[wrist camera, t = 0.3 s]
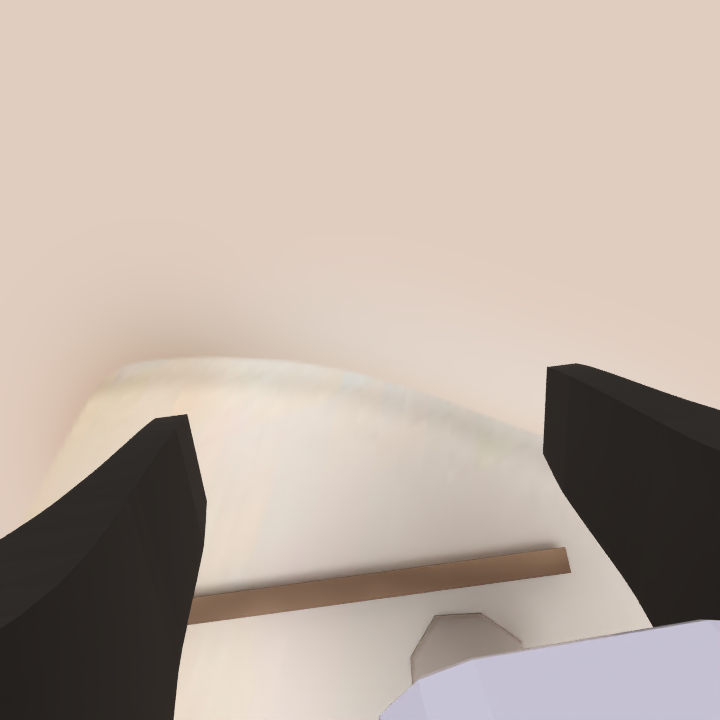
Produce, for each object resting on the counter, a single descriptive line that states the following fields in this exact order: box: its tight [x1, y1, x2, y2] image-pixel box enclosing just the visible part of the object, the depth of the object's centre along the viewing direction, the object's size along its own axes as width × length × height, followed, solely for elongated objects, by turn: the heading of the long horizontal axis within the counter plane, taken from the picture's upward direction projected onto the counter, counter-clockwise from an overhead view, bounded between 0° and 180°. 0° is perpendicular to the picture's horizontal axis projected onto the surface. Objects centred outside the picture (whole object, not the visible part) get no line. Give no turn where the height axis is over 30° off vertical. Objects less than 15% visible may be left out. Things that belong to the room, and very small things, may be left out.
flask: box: [411, 613, 522, 684], centre depth 33 cm, size 7×7×10 cm
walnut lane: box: [187, 547, 571, 625], centre depth 36 cm, size 13×28×2 cm, turn 97°
